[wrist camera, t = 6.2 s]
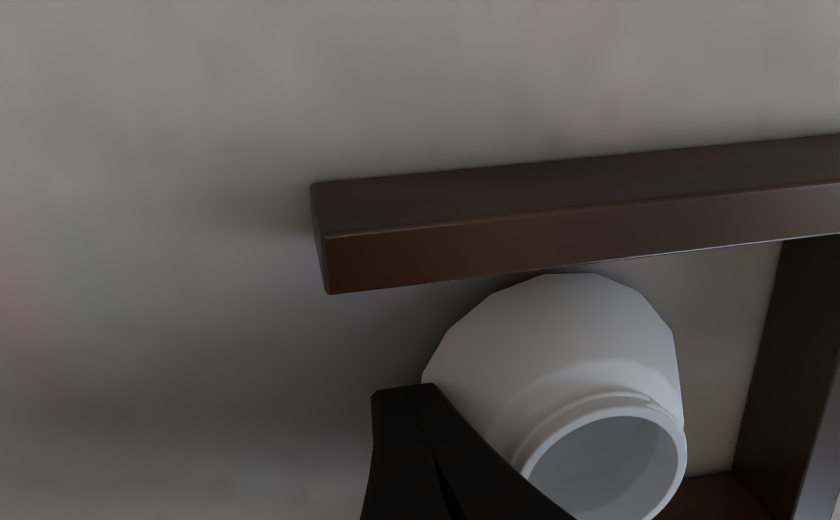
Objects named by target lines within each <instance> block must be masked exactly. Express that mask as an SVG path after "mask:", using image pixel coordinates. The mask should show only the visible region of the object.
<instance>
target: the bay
mask: <svg viewBox="0 0 840 520" xmlns="http://www.w3.org/2000/svg"><path fill="white" fill-rule="evenodd" d="M310 198H311V208H312V219H313V230H314V238H315V243H316V248H317V253H318V258H319V264H320V269H321V274H322V279H323V284H324V289H325V291H326V293H327V294H329V295H334V294H343V293H351V292H359V291H368V290H376V289H384V288H393V287H401V286H409V285H417V284H426V283H434V282H442V281H451V280H459V279H467V278H476V277H484V276H492V275H501V274H509V273H517V272H525V271H534V270H542V269H550V268H559V267H567V266H575V265H584V264H592V263H600V262H608V261H617V260H625V259H633V258H642V257H650V256H658V255H667V254H675V253H683V252H691V251H700V250H708V249H716V248H725V247H733V246H741V245H750V244H758V243H766V242H775V241H783V240H786V241H785V245H784V250H783V254H782V258H781V263H780V267H779V271H778V275H777V280H776V284H775V288H774V293H773V297H772V301H771V306H770V310H769V314H768V319H767V323H766V327H765V331H764V336H763V340H762V344H761V349H760V353H759V357H758V362H757V366H756V370H755V374H754V379H753V383H752V387H751V392H750V396H749V400H748V405H747V409H746V413H745V418H744V422H743V426H742V430H741V435H740V439H739V443H738V448H737V452H736V456H735V461H734V465H733V471H732V472H727V473H721V474H716V475H710V476H704V477H699V478H693V479H688V480H682V481H681V483H680V485H679V487H678V489H677V491H676V492H675V494H674V495H673V497H672V498H671V500H670V501H669V502H668V503H667V505H666V506H665V507H664V508H663V509H662V510H661V511H660V512H659V513H658V514H657V515H656V516H655V517H654V518H653V519H651V520H831V517H832V513H833V510H834V507H835V504H836V501H837V498H838V495H839V492H840V134H838V135H827V136H817V137H806V138H795V139H785V140H774V141H763V142H753V143H742V144H731V145H721V146H710V147H699V148H689V149H678V150H667V151H657V152H646V153H635V154H624V155H614V156H603V157H592V158H582V159H571V160H560V161H550V162H539V163H528V164H518V165H507V166H496V167H486V168H475V169H464V170H454V171H443V172H432V173H422V174H411V175H400V176H390V177H379V178H368V179H358V180H347V181H336V182H326V183H315V184H312V185H311V186H310Z"/></svg>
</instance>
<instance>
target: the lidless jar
mask: <svg viewBox="0 0 840 520" xmlns="http://www.w3.org/2000/svg"><path fill="white" fill-rule="evenodd" d="M430 382H432V383H434V384H435V385H436V386H438V388H439V389H440V390H441V391H442V393H443V394H444V395H445V396H446V397H447V399H448V400H449V401H450V402H451V403H452V405H453V406H454V407H455V408H456V409H457V410H458V412H459V413H460V414H461V415H462V416H463V417H464V418H465V419H466V421H467V422H468V423H469V424H470V425H471V426H472V427H473V428H474V429H475V430H476V431H477V432H478V434H479V435H480V436H481V437H482V438H483V439H484V440H485V441H486V442H487V443H488V444H489V445H490V446H491V447H492V448H493V449H494V450H495V451H496V452H497V453H498V454H499V455H500V456H501V457H502V458H503V459H505V460H506V461H507V462H508V463H509V464H510V465H511V466H512V467H513V468H514V469H515V470H516V471H518V472H519V473H520V474H521V475H522V476H523V477H524V478H526V479H527V480H528V481H529V482H530V483H531V484H532V485H533V486H535V487H536V488H537V489H538V490H540V491H541V492H542V493H543V494H544V495H546V496H547V497H548V498H549V499H551V500H552V501H553V502H554V503H556V504H557V505H558V506H560V507H561V508H562V509H564V510H565V511H566V512H568V513H569V514H570V515H572V516H573V517H574V518H576V519H577V520H651V519H653V518H654V517H655V516H656V515H657V514H658V513H659V512H660V511H661V510H662V509H663V508H664V507H665V506H666V505H667V503H668V502H669V501H670V500H671V498H672V497H673V495H674V494H675V492H676V491H677V489H678V487H679V485H680V483H681V481H682V479H683V476H684V473H685V469H686V464H687V442H686V437H685V433H684V431H683V427H684V417H683V408H682V399H681V390H680V381H679V372H678V365H677V359H676V353H675V346H674V340H673V333H672V331H671V330H670V329H669V327H668V326H667V325H666V324H665V322H664V321H663V320H662V319H661V317H660V316H659V315H658V314H657V312H656V311H655V310H654V309H653V307H652V306H651V305H650V304H649V302H648V301H647V300H646V299H645V298H644V297H643V296H642V295H641V294H640V293H639V292H638V291H637V290H635V289H632V288H630V287H628V286H625V285H623V284H620V283H618V282H616V281H613V280H611V279H608V278H606V277H604V276H601V275H599V274H596V273H579V274H543V275H540V276H537V277H535V278H532V279H530V280H527V281H524V282H522V283H519V284H516V285H514V286H511V287H509V288H506V289H503V290H501V291H498V292H496V293H493V294H491V295H489V296H488V297H487V298H486V299H485V300H483V301H482V302H481V303H480V304H479V305H477V306H476V307H475V308H474V309H473V310H471V311H470V312H469V313H468V314H466V315H465V316H464V317H463V318H462V319H460V320H459V321H458V322H457V323H456V324H454V325H453V326H452V327H451V328H450V329H448V331H447V332H446V334H445V336H444V337H443V339H442V341H441V343H440V344H439V346H438V348H437V349H436V351H435V353H434V354H433V356H432V358H431V360H430V361H429V363H428V365H427V366H426V368H425V370H424V372H423V373H422V381H421V384H423V383H430Z"/></svg>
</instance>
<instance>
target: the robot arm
mask: <svg viewBox="0 0 840 520" xmlns="http://www.w3.org/2000/svg"><path fill="white" fill-rule="evenodd" d="M370 399H371V414H372V429H373V451H372V459H371V467H370V474H369V479H368V484H367V489H366V494H365V498H364V503H363V508H362V512H361V516H360V520H577V519H576V518H574V517H573V516H572V515H570V514H569V513H568V512H566V511H565V510H564V509H562V508H561V507H560V506H558V505H557V504H556V503H554V502H553V501H552V500H551V499H549V498H548V497H547V496H546V495H544V494H543V493H542V492H541V491H540V490H538V489H537V488H536V487H535V486H533V485H532V484H531V483H530V482H529V481H528V480H527V479H526V478H524V477H523V476H522V475H521V474H520V473H519V472H518V471H516V470H515V469H514V468H513V467H512V466H511V465H510V464H509V463H508V462H507V461H506V460H505V459H503V458H502V457H501V456H500V455H499V454H498V453H497V452H496V451H495V450H494V449H493V448H492V447H491V446H490V445H489V444H488V443H487V442H486V441H485V440H484V439H483V438H482V437H481V436H480V435H479V434H478V432H477V431H476V430H475V429H474V428H473V427H472V426H471V425H470V424H469V423H468V422H467V421H466V419H465V418H464V417H463V416H462V415H461V414H460V413H459V412H458V410H457V409H456V408H455V407H454V406H453V405H452V403H451V402H450V401H449V400H448V399H447V397H446V396H445V395H444V394H443V393H442V391H441V390H440V389H439V388H438V386H436V385H435V384H434V383H432V382H430V383H423V384H416V385H409V386H403V387H396V388H389V389H382V390H376V391H375V392H374V393H373V394H372V395H371V396H370Z"/></svg>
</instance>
